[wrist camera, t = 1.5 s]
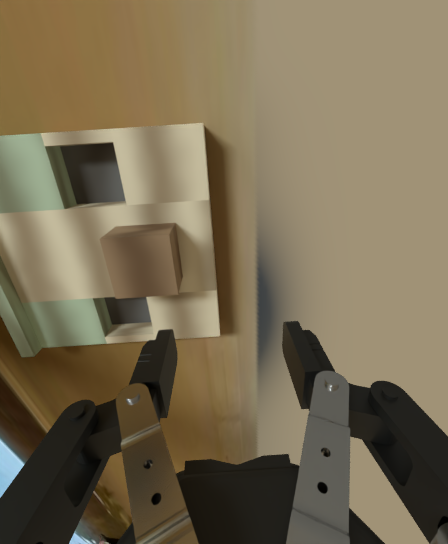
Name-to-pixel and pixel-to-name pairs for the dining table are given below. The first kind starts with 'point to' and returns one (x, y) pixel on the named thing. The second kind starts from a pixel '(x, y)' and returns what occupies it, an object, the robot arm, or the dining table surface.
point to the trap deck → (101, 234)
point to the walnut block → (143, 260)
